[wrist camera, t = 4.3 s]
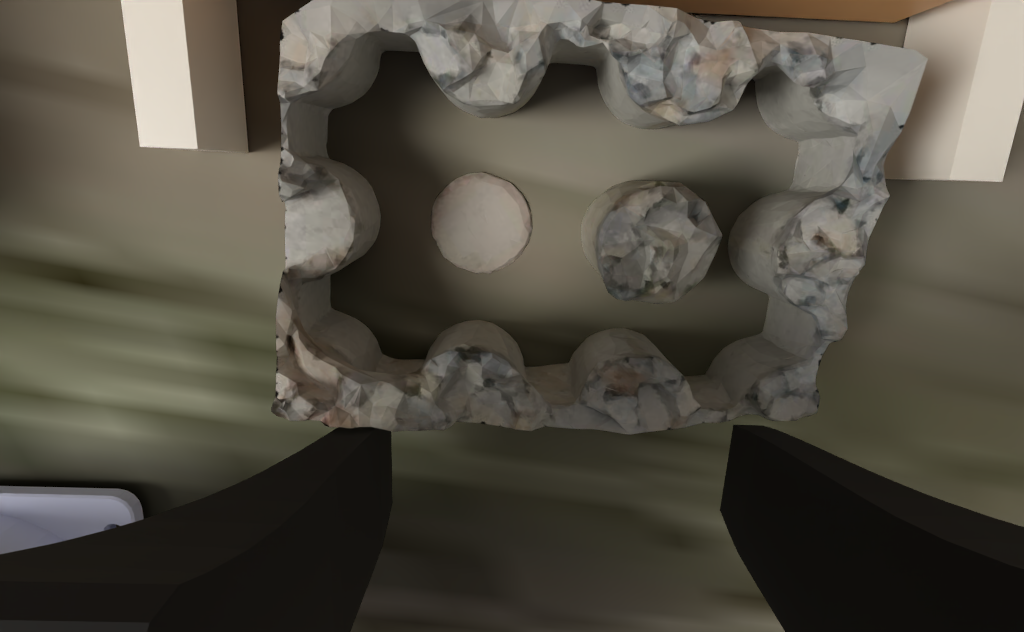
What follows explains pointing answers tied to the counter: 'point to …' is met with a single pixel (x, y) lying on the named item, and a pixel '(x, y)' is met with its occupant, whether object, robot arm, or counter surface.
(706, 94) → the egg carton
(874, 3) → the pusher plate
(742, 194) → the counter surface
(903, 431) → the counter surface
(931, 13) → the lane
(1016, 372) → the counter surface
